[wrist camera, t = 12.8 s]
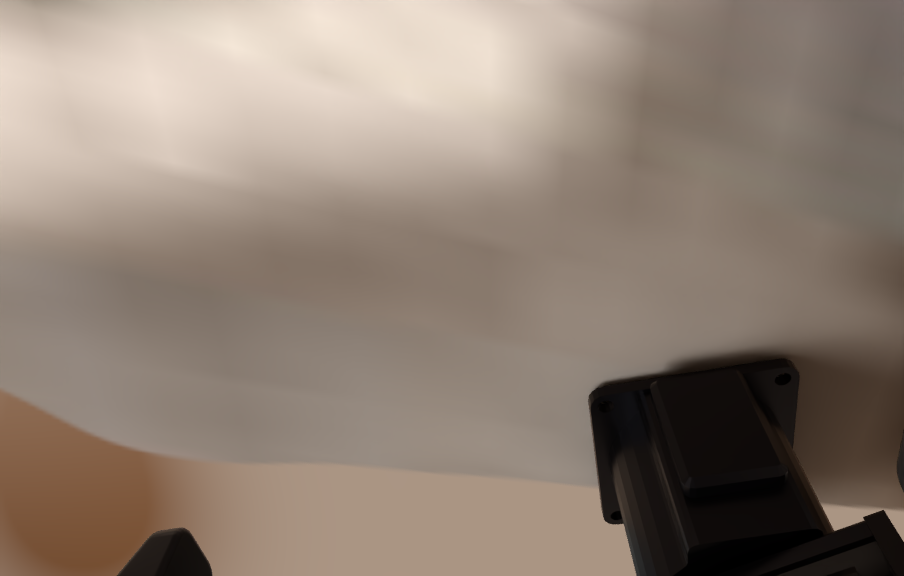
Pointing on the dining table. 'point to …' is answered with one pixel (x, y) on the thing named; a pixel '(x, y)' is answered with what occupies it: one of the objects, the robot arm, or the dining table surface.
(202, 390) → the dining table surface
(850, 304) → the dining table surface
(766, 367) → the robot arm
